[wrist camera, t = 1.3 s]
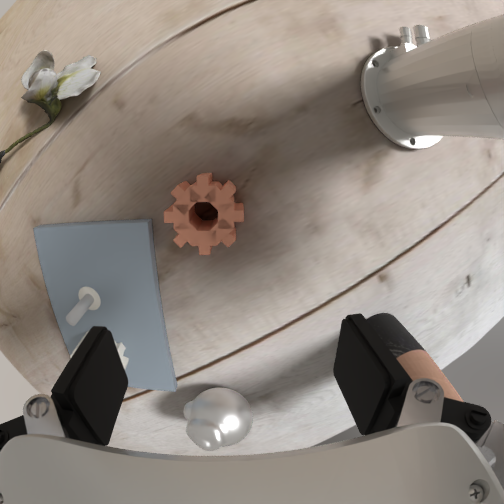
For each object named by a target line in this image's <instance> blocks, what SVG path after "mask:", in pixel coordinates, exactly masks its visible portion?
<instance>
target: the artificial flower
mask: <svg viewBox="0 0 504 504" xmlns="http://www.w3.org/2000/svg"><path fill="white" fill-rule="evenodd" d="M95 59H96V58H94V57H92V56H90V55H88V56H86V57H83V59H81V60H79V61H78V62H75V63H73V64H69V65H67V66H66V67H65V68H64V69H63V71H61V72H59V73H58V74H56V73H55V72H54V58H53V56H52V53H51V52H49V51H46V50H45V51H41V52H40V53H39V54H38V55H37V56H36V58H35V59H34V61H33V63H32V64H31V66H30V67H29V68H28V69H27V70H26V72H25V73H24V75H23V76H22V79H21V81H22V84H23V86H24V88H25V89H27V90H28V91H27V92H26V93H25V94H24V95H23V96H22V97H21V98H22V99H24V100H27V102H30V103H35V104H37V105H39V106H40V107H41V108H42V109H44V110H45V112H46V113H47V114H48V116H49V118H50V121H49V122H48V123H47V124H45V125H43V126H42V127H40V128H38V129H36V130H34V131H33V132H30V133H29V134H27V135H25V136H24V137H22V138H20V139H19V140H17V141H16V142H15V143H13V144H12V145H11V146H10V147H9V148H8V149H6V150H4V151H1V152H0V163H1V159H2V157H3V156H4V155H5V153H8V152H9V151H10V150H11V149H12V148H13V147H15V146H16V145H17V144H18V143H20V142H22V141H24V140H25V139H27V138H29V137H31V136H32V135H34V134H36V133H38V132H40V131H41V130H43V129H44V128H47V127H48V126H49V125H51V124H52V123H53V121H54V120H55V117H56V115H57V114H58V113H59V111H60V109H61V102H60V100H61V99H64V98H68V97H71V96H78V95H80V94H81V93H82V92H83V91H84V90H85V89H87V88H89V87H90V86H92V85H93V84H94V83H95V82H96V81H97V80H98V78H99V76H100V73H101V72H100V71H97V70H95V69H91V67H92V66H94V65H95V64H96V60H95Z"/></svg>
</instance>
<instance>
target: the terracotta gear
mask: <svg viewBox="0 0 504 504" xmlns="http://www.w3.org/2000/svg"><path fill="white" fill-rule="evenodd" d="M235 192H236V186H235V185H234V184H233V183H232V182H231V181H230V180H228V181H227V182H226V183H225V184H224V185H222V184H221V183H220V182H219V181H212V173H202V174H200V175H198V176H197V182H195V183H194V184H192V185H190V184H189V183H188V182H187V181H184V182H182V183H180V184H178V185H177V186H176V187H175V188H174V189H173V191H172V192H171V194H172V195H173V196H174V197H175V198H176V199H177V200H176V201H175V203H174V204H173V205H171V206H170V207H169V208H168V209H167V210H165V211H164V223H174V230H175V231H176V232H177V233H178V234H177V235H176V237H175V238H174V240H173V241H174V242H175V243H176V244H177V245H178V246H179V247H182V246H183V245H184V244H185V243H186V242H188V243H189V244H190V245H191V246H199V255H210V253H211V249H212V246H217V245H218V244H219V243H220V242H221V241H222V242H223V243H224V244H225V245H226V246H227V247H229V246H230V245H231V244H232V243H234V242H235V241H236V228H235V227H234V222H244V207H243V203H234V196H233V194H234V193H235ZM196 202H210V203H211V204H212V205H213V206H214V207H215V208H216V209H217V210H218V216H217V217H216V218H215V219H214V220H207V221H203V220H202V219H201V218H200V217H198V216H197V215H196V214H195V203H196Z"/></svg>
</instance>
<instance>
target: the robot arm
mask: <svg viewBox="0 0 504 504" xmlns="http://www.w3.org/2000/svg"><path fill="white" fill-rule="evenodd" d="M413 28H414V34H415V39H416V42H417V47H416V46H415V45H413V44H412V34H411V29H410V28H408V27H400V29H399V30H400V36H401V39H402V43H401V44H400V46H399V47H398V46H393V47H386V48H382V49H380V50H379V51H377V52H375V53H374V54H373V55H371V56H370V57H369V59H368V60H367V61H366V63H365V65H364V67H363V70H362V75H361V92H362V97H363V101H364V104H365V107H366V109H367V112H368V113H369V115H370V117H371V119H372V121H373V122H374V124H375V125H376V126H377V128H378V129H379V130H380V131H381V132H382V133H383V134H384V135H385V136H386V137H387V138H388V139H390V140H391V141H393V142H394V143H396V144H398V145H400V146H402V147H406V148H409V149H426V148H429V147H431V146H433V145H435V144H436V143H437V142H438V141H439V140H440V139H441V138H442V137H443V136H460V137H479V138H492V139H503V140H504V14H503V15H500V16H497V17H494V18H491V19H488V20H484V21H481V22H478V23H475V24H472V25H470V26H467V27H464V28H461V29H459V30H456V31H453V32H451V33H448V34H446V35H443V36H441V37H438V38H436V39H434V40H430V34H429V29H428V28H427V27H425V26H422V25H416V26H414V27H413ZM374 109H375V111H374ZM333 370H334V376H335V378H336V381H337V383H338V385H339V387H340V389H341V391H342V394H343V396H344V398H345V400H346V402H347V405H348V407H349V409H350V411H351V414H352V416H353V418H354V420H355V423H356V425H357V427H358V429H359V432H360V433H361V434H362V435H365V436H362V437H358V438H354V439H350V440H345V441H340V442H336V443H331V444H326V445H321V446H316V447H310V448H304V449H298V450H291V451H284V452H275V453H265V454H254V455H237V456H186V455H169V454H157V453H147V452H139V451H132V450H125V449H119V448H113V447H108V446H105V445H108V444H109V441H110V438H111V435H112V431H113V428H114V425H115V422H116V419H117V416H118V413H119V410H120V407H121V404H122V401H123V398H124V395H125V392H126V390H127V387H128V377H127V375H126V372H125V369H124V367H123V364H122V362H121V359H120V356H119V353H118V350H117V348H116V345H115V342H114V339H113V336H112V333H111V331H110V330H108V329H107V328H106V327H105V326H93V327H92V328H91V329H90V330H89V332H88V333H87V335H86V336H85V338H84V339H83V341H82V342H81V344H80V345H79V347H78V348H77V350H76V351H75V353H74V354H73V356H72V358H71V359H70V361H69V362H68V364H67V365H66V367H65V369H64V370H63V372H62V373H61V375H60V377H59V378H58V380H57V382H56V383H55V385H54V387H53V388H52V390H51V392H52V393H53V394H52V395H51V397H49V396H48V395H45V394H38V395H34V396H32V397H31V398H29V399H28V400H27V401H26V403H25V404H24V407H23V414H24V415H22V416H20V417H18V418H15V419H13V420H10V421H8V422H5V423H3V424H0V504H504V424H503V423H501V422H499V421H497V420H495V421H494V422H491V417H490V414H489V412H488V411H487V410H486V409H485V408H483V407H481V406H478V405H474V404H470V403H466V402H462V401H458V400H454V399H450V398H446V397H444V391H443V388H442V387H441V385H440V384H439V383H437V382H436V381H434V380H431V379H428V378H420V379H417V380H414V381H413V380H412V379H411V378H410V376H409V375H408V373H407V372H406V371H405V369H404V368H403V367H402V365H401V364H400V363H399V361H398V360H397V359H396V357H395V356H394V355H393V353H392V352H391V351H390V349H389V348H388V347H387V345H386V344H385V343H384V342H383V341H382V339H381V338H380V337H379V336H378V334H377V333H376V332H375V330H374V329H373V328H372V327H371V325H370V324H369V323H368V321H367V320H366V319H365V318H364V316H363V315H362V314H353V315H347V317H346V319H343V320H342V324H341V330H340V336H339V342H338V348H337V353H336V358H335V363H334V369H333Z"/></svg>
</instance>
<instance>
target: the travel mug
mask: <svg viewBox="0 0 504 504" xmlns="http://www.w3.org/2000/svg"><path fill="white" fill-rule="evenodd" d="M367 321H368V323H369V324H370V325H371V327H372V328H373V329H374V330H375V332H376V333H377V334H378V336H379V337H380V338H381V339H382V341H383V342H384V343H385V344H386V345H387V347H388V348H389V349H390V351H391V352H392V353H393V355H394V356H395V357H396V359H397V360H398V361H399V363H400V364H401V365H402V367H403V368H404V369H405V371H406V372H407V373H408V375H409V376H410V378H411V379H412V380H413V381H414V380H417V379H420V378H428V379H431V380H434V381H436V382H437V383H439V384H440V385H441V387H442V388H443V391H444V397H446V398H450V399H454V400H458V401H462V402H464V401H463V400H462V398H461V397H460V396H459V394H458V393H457V391H456V390H455V389H454V387H453V386H452V385H451V383H450V382H449V381H448V379H447V378H446V376H445V375H444V374H443V373H442V371H441V370H440V369H439V367H438V366H437V365H436V363H435V362H434V361H433V359H432V358H431V357H430V356H429V354H428V353H427V352H426V351H425V350H424V348H423V347H422V346H421V345H420V344H419V343H418V342H417V341H416V340H415V338H414V337H413V336H412V335H411V334H410V333H409V332H408V331H407V330H406V328H405V327H404V326H403V325H402V324H401V323H400V322H399V321H398V320H397V319H396V318H395V317H394V316H393V315H391V314H387V313H381V314H377V315H374V316H372V317H370V318H369V319H367Z"/></svg>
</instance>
